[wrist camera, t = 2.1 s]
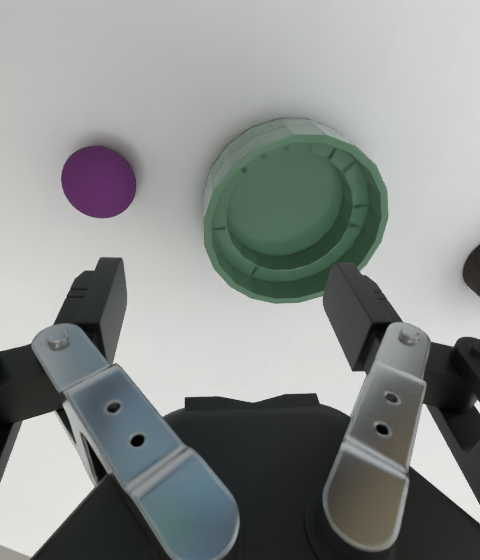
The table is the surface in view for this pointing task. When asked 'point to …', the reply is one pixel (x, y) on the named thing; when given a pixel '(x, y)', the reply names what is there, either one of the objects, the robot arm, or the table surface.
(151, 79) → the table surface
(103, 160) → the ball
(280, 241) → the bowl
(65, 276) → the table surface
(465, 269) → the container
